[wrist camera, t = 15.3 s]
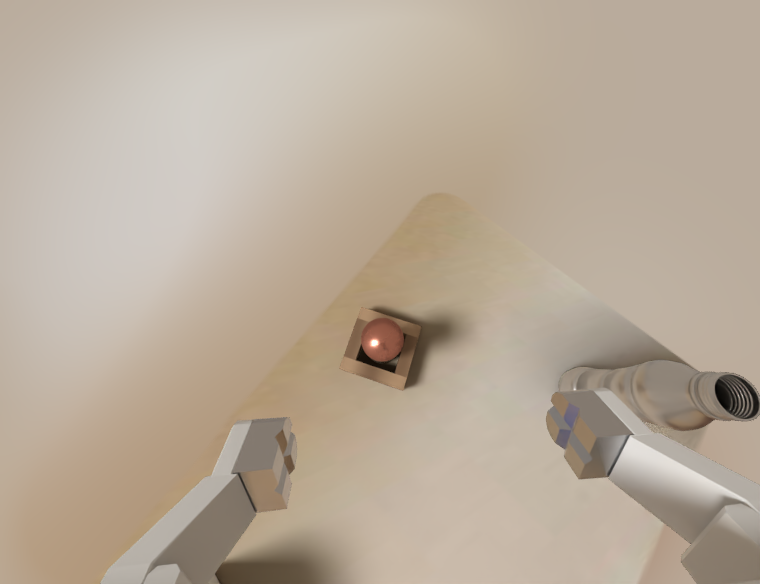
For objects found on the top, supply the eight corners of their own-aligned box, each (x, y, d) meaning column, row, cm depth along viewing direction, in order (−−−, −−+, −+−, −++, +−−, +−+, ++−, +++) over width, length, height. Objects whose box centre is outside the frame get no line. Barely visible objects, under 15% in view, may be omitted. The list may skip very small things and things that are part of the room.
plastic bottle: (588, 426, 41) (771, 463, 22) (543, 396, 42) (681, 405, 23) (606, 387, 42) (793, 388, 23) (563, 358, 44) (707, 337, 25)
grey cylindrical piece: (401, 339, 44) (409, 325, 34) (391, 370, 43) (396, 366, 32) (370, 328, 45) (369, 312, 34) (360, 359, 43) (354, 352, 33)
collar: (418, 330, 45) (421, 326, 42) (401, 390, 42) (403, 390, 39) (362, 311, 46) (361, 306, 43) (341, 369, 43) (339, 368, 40)
